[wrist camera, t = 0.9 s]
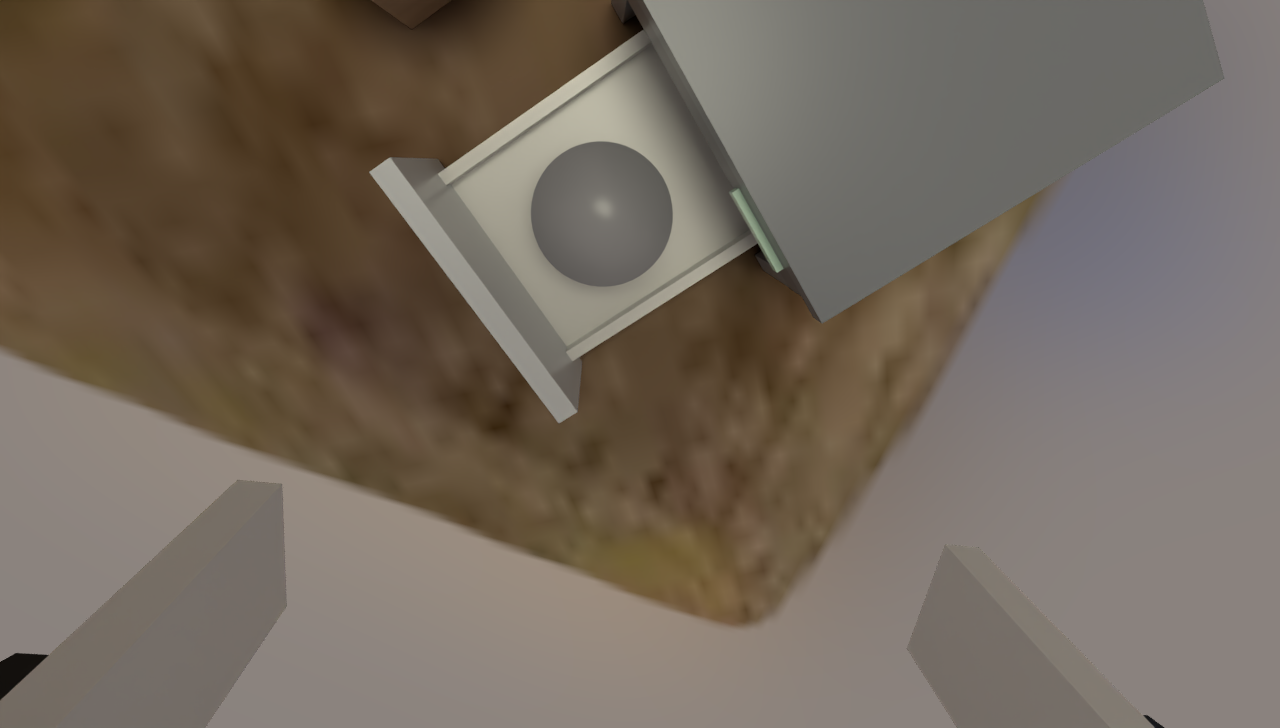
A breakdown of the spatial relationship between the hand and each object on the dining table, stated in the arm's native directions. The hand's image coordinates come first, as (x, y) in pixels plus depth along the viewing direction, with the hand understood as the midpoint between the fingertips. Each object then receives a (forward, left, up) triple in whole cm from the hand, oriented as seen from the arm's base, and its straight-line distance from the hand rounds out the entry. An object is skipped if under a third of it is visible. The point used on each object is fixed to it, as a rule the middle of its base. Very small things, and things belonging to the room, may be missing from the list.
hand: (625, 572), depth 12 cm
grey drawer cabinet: (-5, +16, -22) cm, 28 cm away
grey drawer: (-5, +4, -22) cm, 23 cm away
